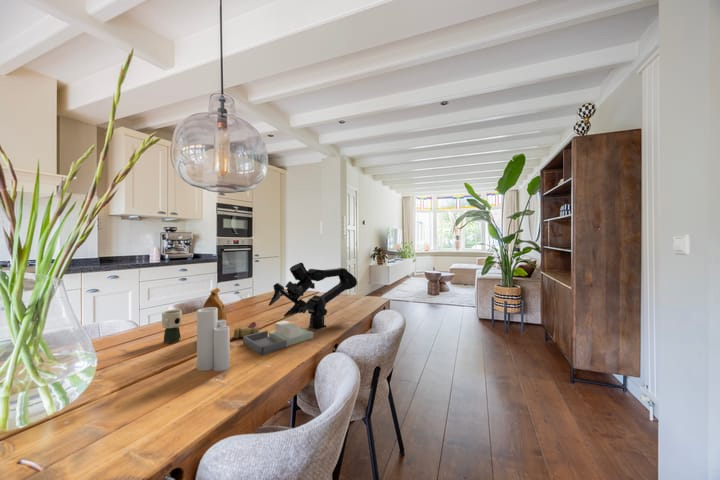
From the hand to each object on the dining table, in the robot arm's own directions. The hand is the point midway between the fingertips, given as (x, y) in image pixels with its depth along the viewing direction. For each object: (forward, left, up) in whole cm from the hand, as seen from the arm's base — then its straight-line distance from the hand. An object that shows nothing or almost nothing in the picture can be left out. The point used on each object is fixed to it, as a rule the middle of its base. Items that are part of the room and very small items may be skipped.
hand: (276, 310), depth 129 cm
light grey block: (-3, +8, -10) cm, 13 cm away
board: (-5, +4, -12) cm, 14 cm away
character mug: (+34, -28, -13) cm, 46 cm away
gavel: (+4, -18, -13) cm, 23 cm away
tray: (+8, +4, -12) cm, 15 cm away
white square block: (-3, +1, -10) cm, 10 cm away
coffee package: (+20, -18, -13) cm, 30 cm away
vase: (+29, +10, -13) cm, 33 cm away
